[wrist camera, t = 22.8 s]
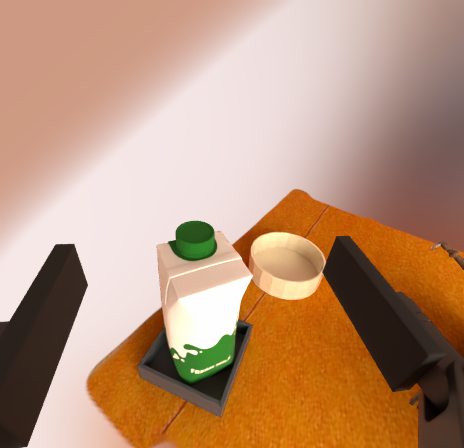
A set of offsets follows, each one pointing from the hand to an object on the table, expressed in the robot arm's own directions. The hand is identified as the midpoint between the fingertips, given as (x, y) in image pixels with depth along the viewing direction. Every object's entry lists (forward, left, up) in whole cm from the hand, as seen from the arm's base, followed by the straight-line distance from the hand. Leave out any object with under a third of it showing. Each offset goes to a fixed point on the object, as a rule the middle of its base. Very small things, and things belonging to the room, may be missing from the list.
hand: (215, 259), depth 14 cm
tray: (-5, +8, -28) cm, 29 cm away
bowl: (+3, +30, -28) cm, 41 cm away
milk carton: (-5, +8, -27) cm, 29 cm away
